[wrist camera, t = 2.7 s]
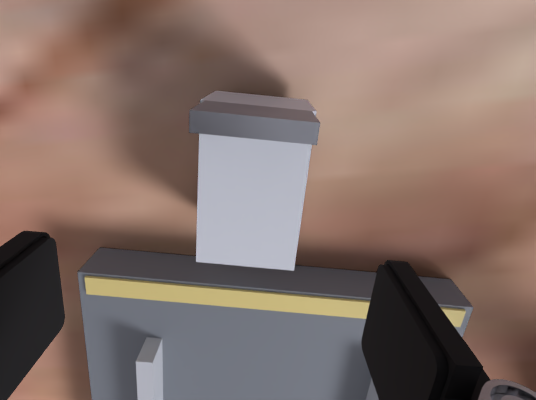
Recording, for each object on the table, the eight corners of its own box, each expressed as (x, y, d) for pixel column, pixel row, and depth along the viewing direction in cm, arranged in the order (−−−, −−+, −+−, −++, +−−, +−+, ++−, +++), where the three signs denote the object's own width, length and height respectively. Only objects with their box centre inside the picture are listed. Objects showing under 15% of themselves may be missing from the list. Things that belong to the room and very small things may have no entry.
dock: (99, 247, 25) (58, 292, 20) (451, 279, 25) (491, 330, 20) (114, 415, 30) (85, 480, 26) (398, 439, 31) (420, 507, 26)
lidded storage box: (218, 88, 21) (183, 109, 13) (306, 97, 21) (325, 123, 13) (212, 217, 24) (181, 298, 16) (289, 224, 24) (297, 308, 16)
